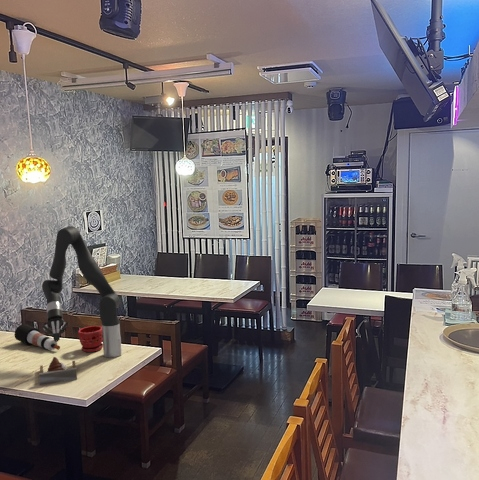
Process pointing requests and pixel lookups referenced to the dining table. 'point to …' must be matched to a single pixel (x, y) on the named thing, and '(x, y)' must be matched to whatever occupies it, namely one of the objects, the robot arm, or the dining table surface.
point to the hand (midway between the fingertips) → (56, 340)
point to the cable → (34, 337)
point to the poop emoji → (56, 365)
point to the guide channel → (57, 375)
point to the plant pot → (91, 338)
